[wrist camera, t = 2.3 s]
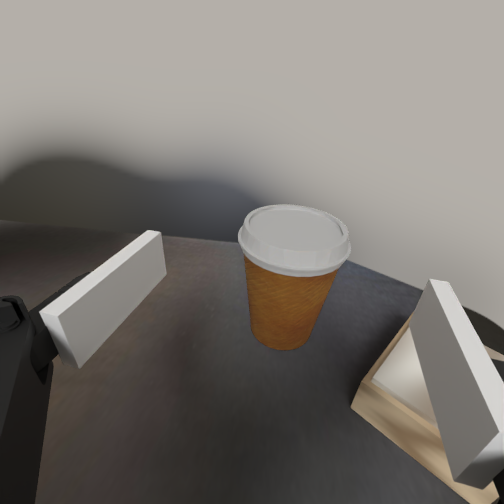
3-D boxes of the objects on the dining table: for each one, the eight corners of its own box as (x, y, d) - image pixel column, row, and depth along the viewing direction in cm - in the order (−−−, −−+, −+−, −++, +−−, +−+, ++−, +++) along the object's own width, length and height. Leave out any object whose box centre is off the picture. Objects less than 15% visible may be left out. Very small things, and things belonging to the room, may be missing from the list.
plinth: (350, 407, 23) (363, 377, 21) (402, 335, 30) (415, 307, 28) (521, 544, 17) (565, 520, 14) (537, 413, 23) (568, 384, 21)
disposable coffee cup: (302, 384, 24) (330, 271, 18) (216, 333, 29) (214, 227, 22) (339, 319, 31) (368, 221, 25) (265, 286, 36) (274, 195, 29)
